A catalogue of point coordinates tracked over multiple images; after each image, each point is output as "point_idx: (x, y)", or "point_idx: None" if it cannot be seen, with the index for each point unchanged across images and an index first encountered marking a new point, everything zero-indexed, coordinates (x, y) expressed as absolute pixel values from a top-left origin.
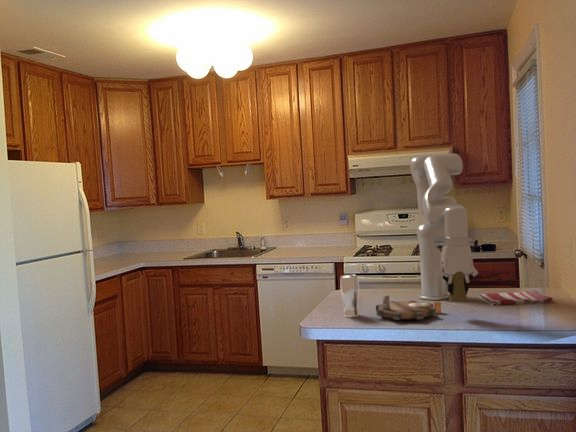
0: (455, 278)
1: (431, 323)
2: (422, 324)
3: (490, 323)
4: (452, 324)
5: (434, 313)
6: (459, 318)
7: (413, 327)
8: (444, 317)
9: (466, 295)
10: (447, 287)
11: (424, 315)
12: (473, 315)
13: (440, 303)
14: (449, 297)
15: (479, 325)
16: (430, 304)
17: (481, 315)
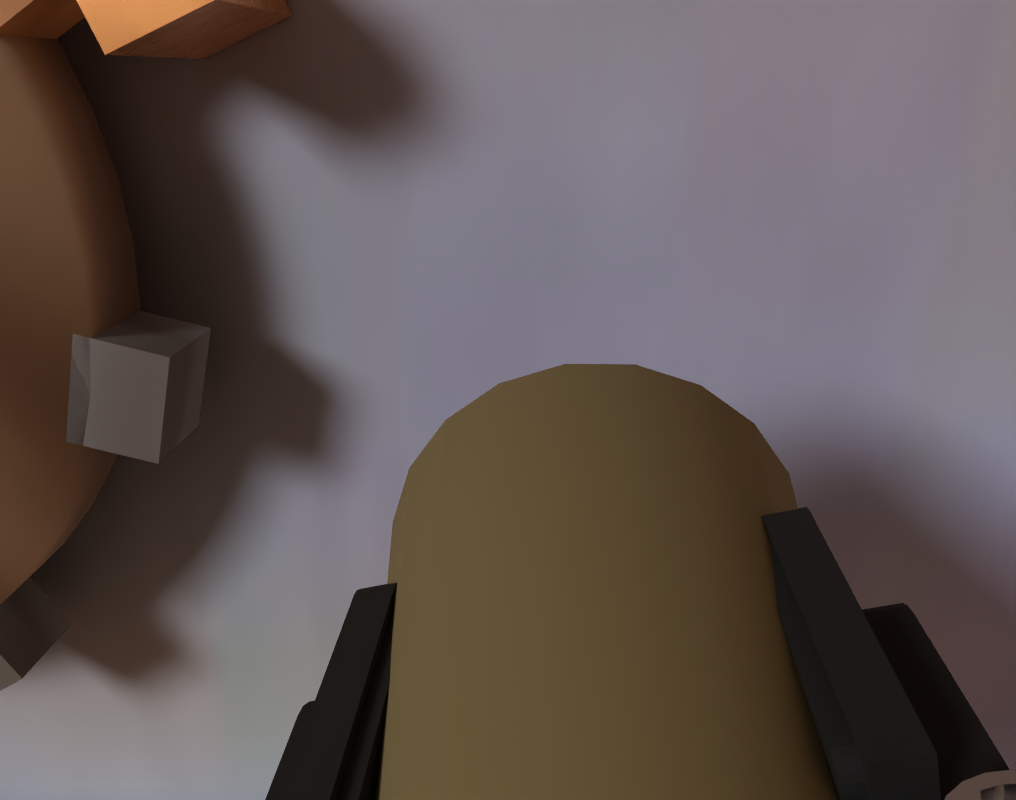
0: None
1: (207, 633)
2: (102, 678)
3: (999, 610)
4: None
5: (187, 434)
6: (595, 358)
7: (25, 795)
8: (362, 306)
9: None
10: (276, 781)
11: (54, 551)
12: (859, 139)
13: (216, 7)
14: (390, 552)
15: None
16: (9, 12)
17: (1003, 130)
